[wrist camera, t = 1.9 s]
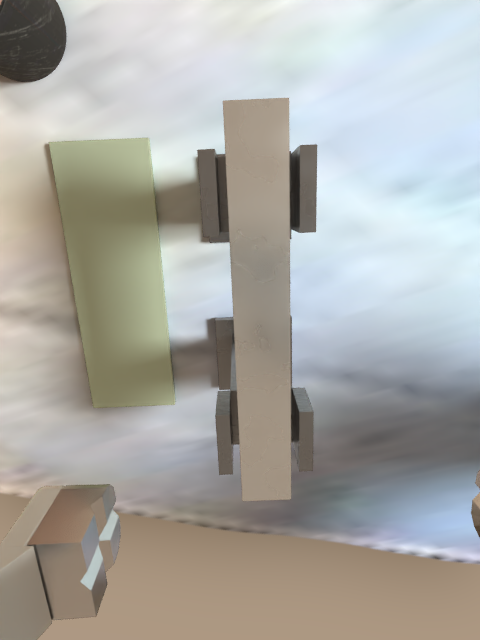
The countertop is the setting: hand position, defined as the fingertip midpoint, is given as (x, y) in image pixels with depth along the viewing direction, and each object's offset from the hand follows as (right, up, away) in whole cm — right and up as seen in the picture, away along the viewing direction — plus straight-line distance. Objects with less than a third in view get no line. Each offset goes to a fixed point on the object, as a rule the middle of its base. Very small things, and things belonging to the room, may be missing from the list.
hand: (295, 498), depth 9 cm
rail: (0, +4, +15) cm, 15 cm away
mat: (-12, +7, +26) cm, 30 cm away
